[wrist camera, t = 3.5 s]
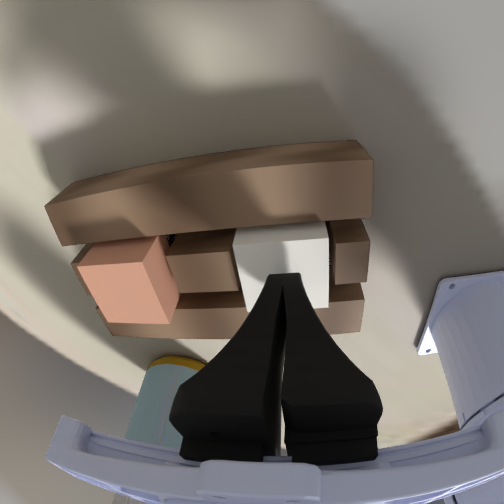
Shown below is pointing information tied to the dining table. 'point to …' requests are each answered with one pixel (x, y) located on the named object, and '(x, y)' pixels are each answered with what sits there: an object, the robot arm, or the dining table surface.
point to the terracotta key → (131, 280)
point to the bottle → (158, 406)
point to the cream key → (283, 258)
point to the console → (228, 225)
